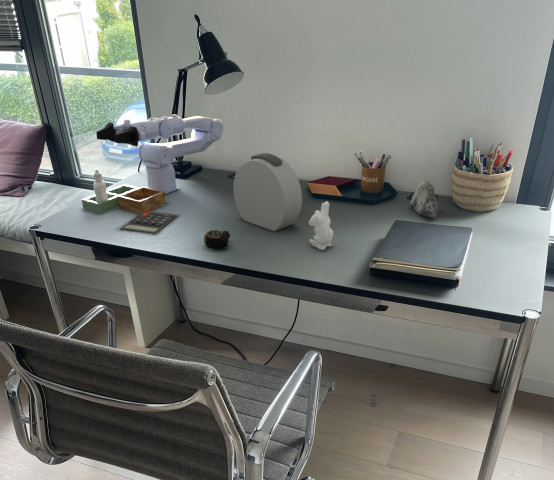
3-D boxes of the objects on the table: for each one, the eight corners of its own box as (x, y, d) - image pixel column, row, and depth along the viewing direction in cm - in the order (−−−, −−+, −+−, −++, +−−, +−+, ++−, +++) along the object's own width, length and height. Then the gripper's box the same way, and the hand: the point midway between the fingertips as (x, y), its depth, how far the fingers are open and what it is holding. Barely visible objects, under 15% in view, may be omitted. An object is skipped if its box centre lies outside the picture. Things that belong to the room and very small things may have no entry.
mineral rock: (433, 224, 169) (438, 191, 163) (398, 217, 173) (403, 185, 168) (445, 210, 178) (450, 178, 172) (412, 205, 183) (416, 173, 177)
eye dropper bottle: (114, 205, 183) (108, 167, 175) (102, 211, 178) (95, 172, 171) (104, 203, 184) (97, 166, 177) (92, 208, 180) (84, 170, 173)
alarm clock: (301, 227, 167) (303, 159, 155) (284, 234, 163) (285, 164, 151) (251, 210, 179) (249, 145, 167) (234, 216, 174) (231, 150, 163)
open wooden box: (144, 198, 188) (142, 186, 186) (166, 203, 184) (164, 191, 181) (119, 208, 181) (117, 195, 178) (141, 214, 176) (139, 201, 174)
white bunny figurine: (316, 239, 160) (317, 197, 153) (338, 243, 158) (341, 201, 151) (304, 250, 154) (305, 207, 147) (327, 254, 151) (329, 211, 144)
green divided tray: (125, 193, 192) (124, 184, 190) (142, 197, 189) (140, 188, 187) (83, 209, 180) (81, 199, 178) (100, 214, 176) (98, 204, 174)
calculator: (177, 214, 175) (155, 232, 163) (177, 217, 175) (155, 235, 164) (144, 210, 177) (119, 227, 166) (144, 213, 178) (120, 230, 166)
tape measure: (227, 251, 153) (227, 238, 151) (203, 251, 153) (201, 238, 151) (230, 241, 159) (230, 229, 157) (206, 241, 159) (205, 228, 157)
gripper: (121, 115, 179) (87, 119, 169) (155, 120, 172) (122, 126, 163) (124, 138, 183) (91, 144, 173) (156, 145, 176) (124, 151, 167)
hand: (106, 137), depth 168 cm, fingers open, 7 cm apart
